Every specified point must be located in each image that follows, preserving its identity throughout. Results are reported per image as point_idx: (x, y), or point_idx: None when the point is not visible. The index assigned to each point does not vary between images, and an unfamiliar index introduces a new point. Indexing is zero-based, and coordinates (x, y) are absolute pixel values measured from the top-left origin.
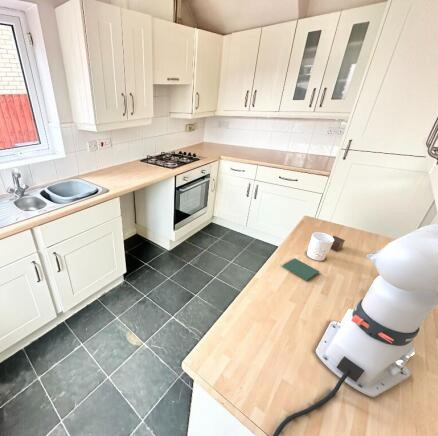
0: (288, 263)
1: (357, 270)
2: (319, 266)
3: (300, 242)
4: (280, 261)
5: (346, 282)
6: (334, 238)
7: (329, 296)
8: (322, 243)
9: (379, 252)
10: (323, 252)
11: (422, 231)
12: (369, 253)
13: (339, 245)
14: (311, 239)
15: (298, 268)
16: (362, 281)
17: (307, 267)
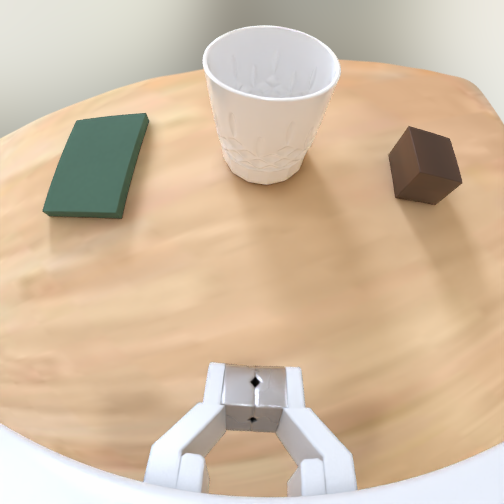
0: (92, 123)
1: (317, 330)
2: (185, 196)
3: None
4: (107, 106)
5: (154, 331)
6: (431, 143)
7: (24, 308)
8: (207, 82)
9: (48, 492)
10: (230, 143)
11: None
12: (278, 372)
13: (416, 182)
14: (232, 51)
15: (81, 156)
16: None
17: (111, 170)
